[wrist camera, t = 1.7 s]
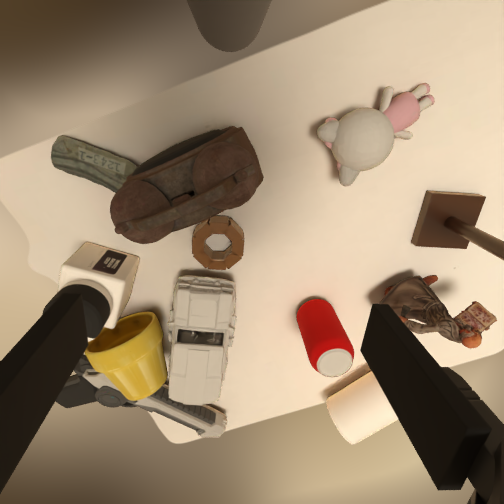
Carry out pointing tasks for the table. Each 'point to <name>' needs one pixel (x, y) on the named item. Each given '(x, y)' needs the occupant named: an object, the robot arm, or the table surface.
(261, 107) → the table surface
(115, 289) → the container
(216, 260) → the ring
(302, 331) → the beverage can
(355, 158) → the toy
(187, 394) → the toy car
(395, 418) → the mug
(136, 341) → the flower pot
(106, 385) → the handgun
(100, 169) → the stone
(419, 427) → the robot arm
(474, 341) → the figurine
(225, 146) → the alarm clock
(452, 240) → the peg stand
